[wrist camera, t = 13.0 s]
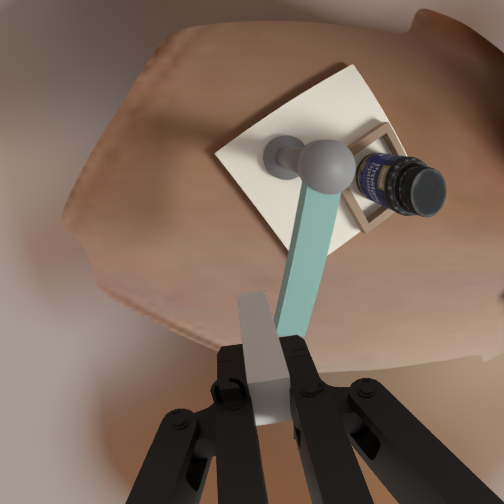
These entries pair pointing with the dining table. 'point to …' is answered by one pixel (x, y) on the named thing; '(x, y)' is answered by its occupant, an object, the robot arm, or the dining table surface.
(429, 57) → the dining table surface
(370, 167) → the pill bottle
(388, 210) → the base board
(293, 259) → the keeper arm
